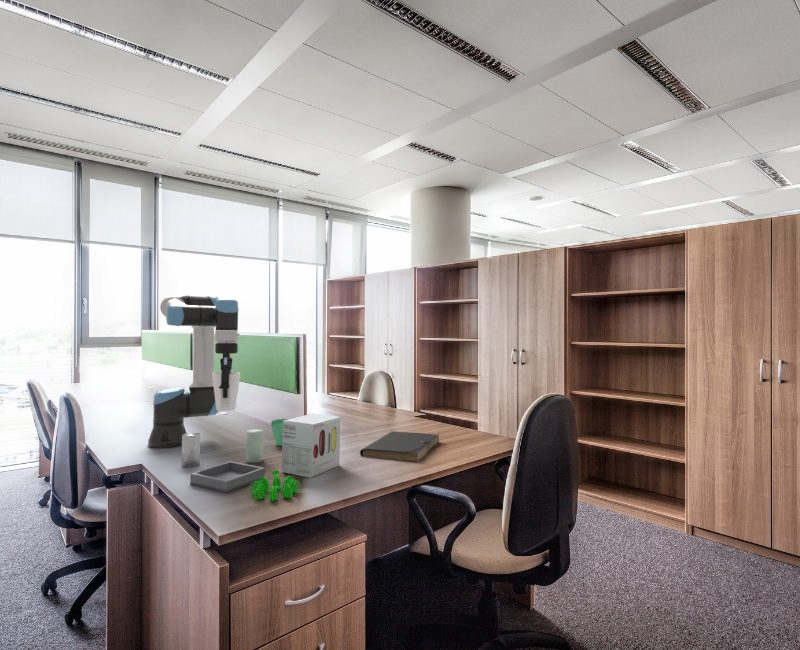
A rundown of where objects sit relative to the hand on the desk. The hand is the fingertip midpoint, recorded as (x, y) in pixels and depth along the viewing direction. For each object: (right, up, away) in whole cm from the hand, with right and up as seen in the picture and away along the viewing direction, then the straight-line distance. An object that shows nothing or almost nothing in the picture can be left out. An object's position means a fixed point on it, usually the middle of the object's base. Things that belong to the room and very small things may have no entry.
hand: (225, 405), depth 164 cm
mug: (+14, -23, +33) cm, 42 cm away
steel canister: (-13, -22, +2) cm, 26 cm away
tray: (+7, -22, -15) cm, 28 cm away
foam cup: (0, -2, 0) cm, 2 cm away
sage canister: (+8, -22, +9) cm, 25 cm away
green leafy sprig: (+25, -23, -26) cm, 42 cm away
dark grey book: (+63, -24, +29) cm, 74 cm away
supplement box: (+31, -23, -1) cm, 38 cm away
